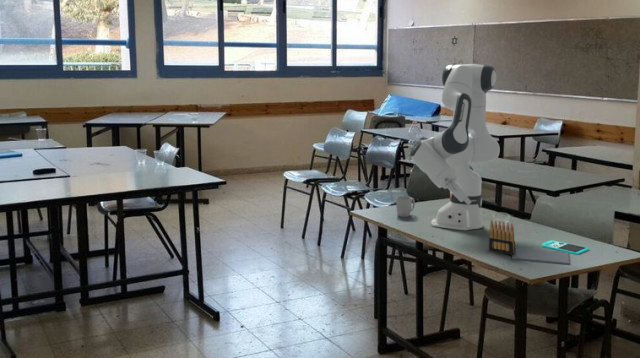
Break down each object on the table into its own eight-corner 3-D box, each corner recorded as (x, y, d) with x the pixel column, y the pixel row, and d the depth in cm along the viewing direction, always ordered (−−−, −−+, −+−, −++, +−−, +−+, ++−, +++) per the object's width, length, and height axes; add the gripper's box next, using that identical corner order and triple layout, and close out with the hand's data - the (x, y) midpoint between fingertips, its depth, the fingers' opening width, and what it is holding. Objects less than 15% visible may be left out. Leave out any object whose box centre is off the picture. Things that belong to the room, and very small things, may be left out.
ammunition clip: (488, 250, 260) (488, 220, 258) (491, 249, 261) (491, 219, 259) (513, 255, 252) (512, 223, 250) (515, 254, 254) (515, 222, 252)
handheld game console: (551, 242, 273) (551, 239, 273) (589, 251, 262) (590, 247, 262) (538, 247, 267) (539, 244, 266) (577, 256, 255) (577, 252, 255)
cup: (392, 215, 316) (392, 197, 315) (408, 212, 321) (409, 195, 320) (402, 218, 310) (402, 200, 308) (419, 215, 315) (419, 197, 313)
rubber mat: (512, 259, 249) (512, 257, 249) (513, 249, 262) (513, 247, 262) (569, 264, 243) (569, 263, 243) (568, 253, 256) (568, 252, 256)
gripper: (454, 176, 242) (480, 203, 244) (446, 166, 262) (471, 191, 264) (441, 188, 243) (467, 214, 245) (434, 177, 263) (459, 202, 265)
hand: (469, 202), depth 254 cm, fingers closed
